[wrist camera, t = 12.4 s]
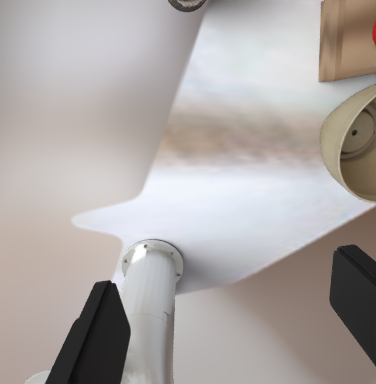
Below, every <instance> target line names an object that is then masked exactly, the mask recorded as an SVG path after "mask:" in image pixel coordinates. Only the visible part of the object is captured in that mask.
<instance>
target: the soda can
mask: <svg viewBox="0 0 376 384" xmlns="http://www.w3.org/2000/svg"><path fill="white" fill-rule="evenodd" d="M372 38H373V41H374V43H375V46H376V21H375V23H374V27H373V31H372Z"/></svg>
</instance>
